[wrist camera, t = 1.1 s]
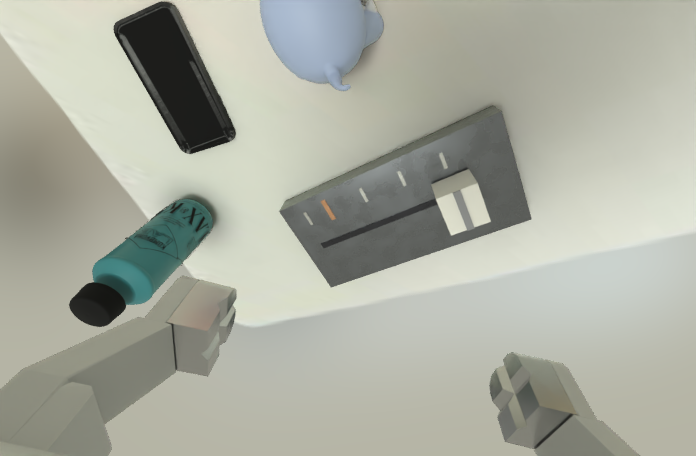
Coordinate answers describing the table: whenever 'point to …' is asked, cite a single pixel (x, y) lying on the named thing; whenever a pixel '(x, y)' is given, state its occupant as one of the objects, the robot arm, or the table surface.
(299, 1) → the hippopotamus toy
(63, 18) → the table surface
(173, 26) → the phone
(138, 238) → the beverage bottle
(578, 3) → the table surface
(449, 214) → the fader knob
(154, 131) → the table surface
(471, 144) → the fader panel
